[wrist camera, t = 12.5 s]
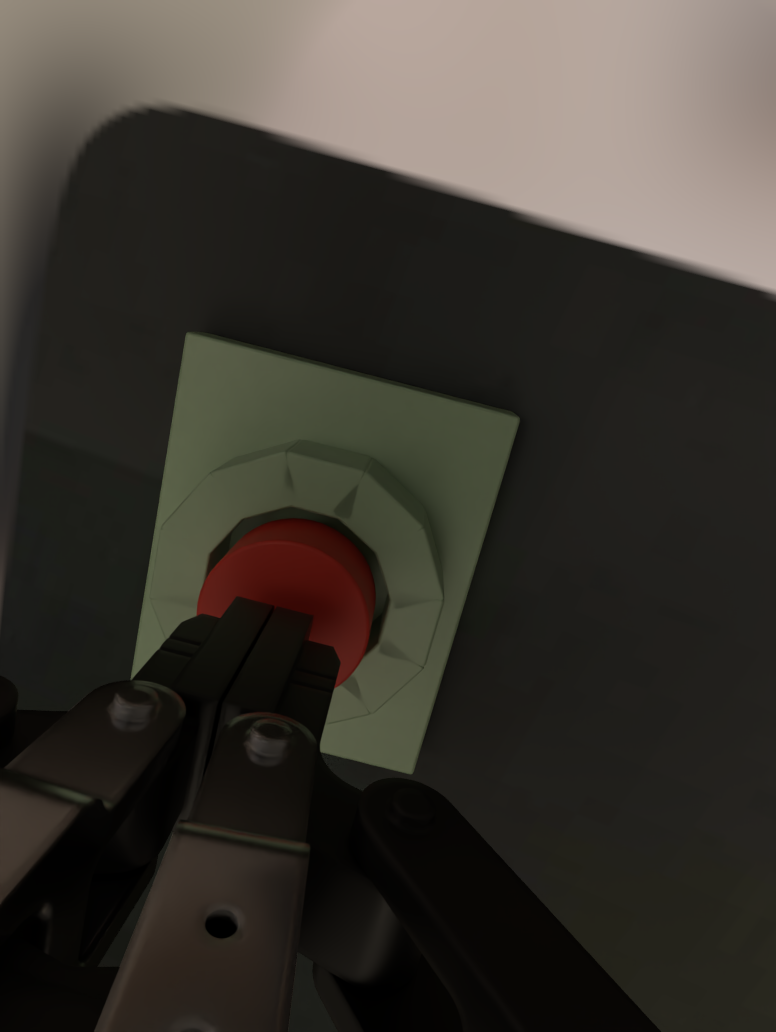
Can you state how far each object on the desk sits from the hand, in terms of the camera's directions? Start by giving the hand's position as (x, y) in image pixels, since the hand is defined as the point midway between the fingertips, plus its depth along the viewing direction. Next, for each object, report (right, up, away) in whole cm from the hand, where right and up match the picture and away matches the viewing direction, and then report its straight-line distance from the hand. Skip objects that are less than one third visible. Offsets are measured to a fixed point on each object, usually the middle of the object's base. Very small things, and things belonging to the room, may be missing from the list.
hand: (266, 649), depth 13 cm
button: (0, +1, +3) cm, 3 cm away
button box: (0, +1, +5) cm, 5 cm away
